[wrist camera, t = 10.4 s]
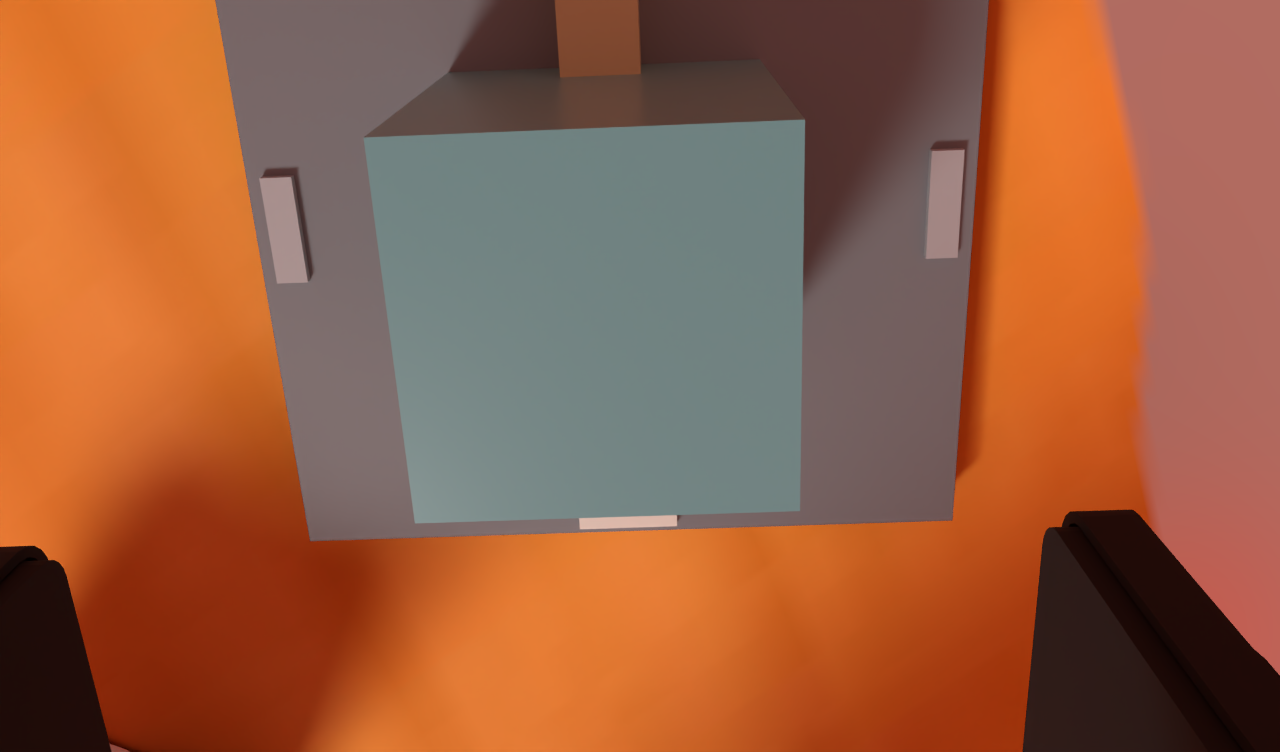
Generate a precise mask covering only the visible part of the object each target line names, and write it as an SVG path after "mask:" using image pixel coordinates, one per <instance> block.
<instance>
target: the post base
mask: <svg viewBox="0 0 1280 752" xmlns="http://www.w3.org/2000/svg"><path fill="white" fill-rule="evenodd" d="M215 1H216V6H217V12H218V18H219V23H220V29H221V35H222V41H223V46H224V52H225V58H226V63H227V69H228V75H229V81H230V86H231V92H232V98H233V103H234V109H235V115H236V121H237V126H238V132H239V138H240V143H241V149H242V155H243V161H244V166H245V172H246V178H247V183H248V189H249V195H250V201H251V206H252V212H253V218H254V223H255V229H256V235H257V241H258V246H259V252H260V258H261V263H262V269H263V275H264V281H265V286H266V292H267V298H268V303H269V309H270V315H271V321H272V326H273V332H274V338H275V343H276V349H277V355H278V361H279V366H280V372H281V378H282V383H283V389H284V395H285V401H286V406H287V412H288V418H289V423H290V429H291V435H292V441H293V446H294V452H295V458H296V463H297V469H298V475H299V481H300V486H301V492H302V498H303V503H304V509H305V515H306V520H307V526H308V532H309V538H310V541H331V540H362V539H393V538H424V537H455V536H485V535H516V534H547V533H578V532H609V531H640V530H671V529H702V528H733V527H764V526H794V525H825V524H856V523H887V522H918V521H949V520H952V519H953V505H954V490H955V476H956V462H957V448H958V433H959V419H960V405H961V390H962V376H963V362H964V348H965V333H966V319H967V305H968V290H969V276H970V262H971V248H972V233H973V219H974V205H975V190H976V176H977V162H978V148H979V133H980V119H981V105H982V90H983V76H984V62H985V48H986V33H987V19H988V5H989V0H639V21H640V45H641V64H660V63H683V62H707V61H731V60H755V59H760V60H761V62H762V63H763V64H764V66H765V67H766V68H767V70H768V71H769V72H770V74H771V75H772V76H773V78H774V79H775V80H776V82H777V83H778V84H779V85H780V87H781V88H782V89H783V91H784V92H785V93H786V95H787V96H788V97H789V99H790V100H791V101H792V103H793V104H794V105H795V107H796V108H797V109H798V111H799V112H800V113H801V115H802V116H803V117H804V119H805V165H804V242H803V320H802V397H801V474H800V511H789V512H757V513H726V514H695V515H664V516H633V517H602V518H570V519H539V520H508V521H477V522H446V523H415V520H414V513H413V505H412V498H411V490H410V483H409V475H408V468H407V460H406V453H405V445H404V438H403V430H402V423H401V415H400V408H399V400H398V393H397V385H396V378H395V370H394V363H393V355H392V348H391V340H390V333H389V325H388V318H387V310H386V303H385V295H384V288H383V280H382V273H381V265H380V258H379V250H378V243H377V235H376V228H375V220H374V213H373V205H372V198H371V190H370V183H369V175H368V168H367V160H366V153H365V145H364V137H365V136H366V135H367V134H369V133H370V132H371V131H373V130H374V129H375V128H377V127H378V126H379V125H380V124H382V123H383V122H384V121H386V120H387V119H388V118H390V117H391V116H392V115H393V114H395V113H396V112H397V111H399V110H400V109H401V108H403V107H404V106H405V105H406V104H408V103H409V102H410V101H412V100H413V99H414V98H416V97H417V96H418V95H419V94H421V93H422V92H423V91H425V90H426V89H427V88H428V87H430V86H431V85H432V84H434V83H435V82H436V81H438V80H439V79H440V78H441V77H443V76H444V75H445V74H447V73H448V72H469V71H493V70H517V69H541V68H559V55H558V40H557V25H556V10H555V0H215Z"/></svg>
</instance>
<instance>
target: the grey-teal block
mask: <svg viewBox="0 0 1280 752" xmlns="http://www.w3.org/2000/svg"><path fill="white" fill-rule="evenodd" d="M555 10H556V25H557V40H558V55H559V68H541V69H517V70H493V71H469V72H448V73H447V74H445V75H444V76H443V77H441V78H440V79H439V80H438V81H436V82H435V83H434V84H432V85H431V86H430V87H428V88H427V89H426V90H425V91H423V92H422V93H421V94H419V95H418V96H417V97H416V98H414V99H413V100H412V101H410V102H409V103H408V104H406V105H405V106H404V107H403V108H401V109H400V110H399V111H397V112H396V113H395V114H393V115H392V116H391V117H390V118H388V119H387V120H386V121H384V122H383V123H382V124H380V125H379V126H378V127H377V128H375V129H374V130H373V131H371V132H370V133H369V134H367V135H366V136H365V137H364V145H365V153H366V160H367V168H368V175H369V183H370V190H371V198H372V205H373V213H374V220H375V228H376V235H377V243H378V250H379V258H380V265H381V273H382V280H383V288H384V295H385V303H386V310H387V318H388V325H389V333H390V340H391V348H392V355H393V363H394V370H395V378H396V385H397V393H398V400H399V408H400V415H401V423H402V430H403V438H404V445H405V453H406V460H407V468H408V475H409V483H410V490H411V498H412V505H413V513H414V520H415V523H446V522H477V521H508V520H539V519H570V518H602V517H633V516H664V515H695V514H726V513H757V512H789V511H800V474H801V397H802V320H803V242H804V165H805V119H804V117H803V116H802V115H801V113H800V112H799V111H798V109H797V108H796V107H795V105H794V104H793V103H792V101H791V100H790V99H789V97H788V96H787V95H786V93H785V92H784V91H783V89H782V88H781V87H780V85H779V84H778V83H777V82H776V80H775V79H774V78H773V76H772V75H771V74H770V72H769V71H768V70H767V68H766V67H765V66H764V64H763V63H762V62H761V60H760V59H755V60H731V61H707V62H683V63H660V64H641V45H640V21H639V0H555Z"/></svg>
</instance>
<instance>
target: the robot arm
mask: <svg viewBox="0 0 1280 752" xmlns="http://www.w3.org/2000/svg"><path fill="white" fill-rule="evenodd" d="M0 752H111V748H110V744H109V740H108V736H107V732H106V728H105V724H104V720H103V716H102V713H101V709H100V705H99V701H98V697H97V693H96V689H95V685H94V681H93V677H92V674H91V670H90V666H89V662H88V658H87V654H86V650H85V646H84V642H83V638H82V635H81V631H80V627H79V623H78V619H77V615H76V611H75V607H74V603H73V599H72V596H71V592H70V588H69V584H68V580H67V576H66V574H65V571H64V568H63V567H62V566H61V564H60V563H59V562H57V561H55V560H48V558H47V556H46V555H45V554H44V552H43V551H42V550H41V549H39V548H37V547H35V546H15V547H0ZM1023 752H1280V675H1279V674H1278V673H1277V672H1276V671H1275V670H1274V669H1273V667H1272V666H1271V665H1270V664H1269V663H1268V661H1267V660H1266V659H1265V658H1264V657H1262V656H1261V655H1260V654H1259V653H1258V652H1257V651H1255V650H1254V649H1253V648H1252V647H1251V646H1250V644H1249V643H1248V642H1247V641H1246V640H1245V638H1244V637H1243V636H1242V635H1241V634H1240V633H1239V631H1237V629H1236V628H1235V627H1234V626H1233V624H1232V623H1231V622H1230V621H1229V620H1228V619H1227V617H1226V616H1225V615H1224V614H1223V613H1222V612H1221V610H1220V609H1219V608H1218V607H1217V606H1216V605H1215V603H1214V602H1213V601H1212V600H1211V599H1210V597H1209V596H1208V595H1207V594H1206V593H1205V592H1204V590H1203V589H1202V588H1201V587H1200V586H1199V585H1198V584H1197V582H1196V581H1195V580H1194V579H1193V578H1192V576H1191V575H1190V574H1189V573H1188V572H1187V571H1186V569H1184V567H1183V566H1182V565H1181V564H1180V562H1179V561H1178V560H1177V559H1176V558H1175V556H1174V555H1173V554H1172V553H1171V552H1170V551H1169V549H1168V548H1167V547H1166V546H1165V545H1164V544H1163V542H1162V541H1161V540H1160V539H1159V538H1158V537H1157V535H1156V534H1155V533H1154V532H1153V531H1152V529H1151V528H1150V527H1149V526H1148V525H1147V524H1146V522H1145V521H1144V520H1143V519H1142V518H1141V517H1140V515H1139V514H1137V513H1136V512H1135V511H1134V510H1105V511H1075V512H1069V513H1068V514H1067V515H1066V516H1065V519H1064V521H1063V524H1062V527H1052V528H1048V529H1047V530H1046V532H1045V535H1044V539H1043V545H1042V555H1041V566H1040V576H1039V586H1038V597H1037V607H1036V618H1035V628H1034V638H1033V649H1032V659H1031V670H1030V680H1029V690H1028V701H1027V711H1026V722H1025V732H1024V743H1023Z"/></svg>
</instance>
